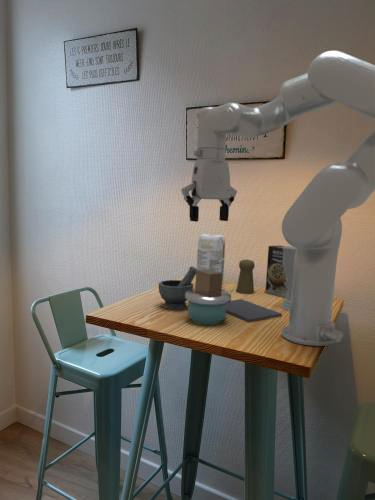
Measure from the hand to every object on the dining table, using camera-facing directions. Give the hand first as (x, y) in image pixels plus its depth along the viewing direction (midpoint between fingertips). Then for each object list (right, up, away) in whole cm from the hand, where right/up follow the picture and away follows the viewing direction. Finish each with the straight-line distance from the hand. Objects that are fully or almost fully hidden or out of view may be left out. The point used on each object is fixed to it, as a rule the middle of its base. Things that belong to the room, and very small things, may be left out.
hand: (209, 221), depth 116 cm
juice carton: (+2, -22, +30) cm, 37 cm away
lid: (-1, -21, -4) cm, 21 cm away
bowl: (-1, -26, -3) cm, 27 cm away
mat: (+11, -25, +7) cm, 28 cm away
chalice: (+25, -25, +13) cm, 37 cm away
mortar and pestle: (-9, -25, +8) cm, 27 cm away
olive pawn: (+14, -22, +30) cm, 40 cm away
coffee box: (+26, -23, +29) cm, 45 cm away
